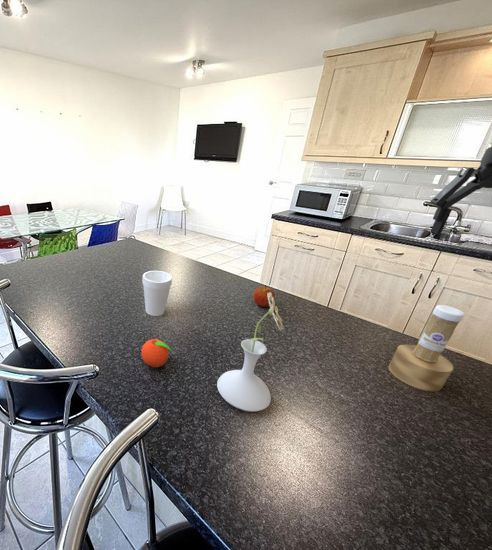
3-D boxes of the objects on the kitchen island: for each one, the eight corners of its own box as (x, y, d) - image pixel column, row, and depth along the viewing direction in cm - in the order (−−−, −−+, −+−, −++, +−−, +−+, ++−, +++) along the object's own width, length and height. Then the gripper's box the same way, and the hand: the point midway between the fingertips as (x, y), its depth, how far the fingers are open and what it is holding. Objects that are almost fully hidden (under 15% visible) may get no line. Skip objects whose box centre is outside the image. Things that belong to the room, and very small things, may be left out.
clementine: (174, 359, 78) (176, 337, 75) (168, 377, 72) (170, 354, 69) (145, 352, 80) (146, 330, 77) (137, 369, 74) (138, 346, 71)
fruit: (276, 307, 103) (282, 287, 100) (263, 312, 101) (268, 291, 97) (260, 299, 109) (264, 279, 106) (247, 303, 106) (251, 283, 103)
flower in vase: (259, 426, 60) (289, 322, 49) (207, 397, 66) (224, 299, 56) (277, 389, 69) (306, 295, 58) (230, 367, 75) (249, 279, 65)
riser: (425, 366, 77) (435, 348, 74) (452, 395, 68) (465, 375, 66) (380, 359, 79) (389, 341, 77) (401, 386, 70) (412, 366, 68)
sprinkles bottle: (415, 359, 70) (440, 311, 65) (409, 349, 74) (433, 302, 68) (440, 366, 68) (469, 316, 63) (433, 354, 72) (459, 307, 66)
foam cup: (174, 315, 98) (177, 279, 93) (149, 321, 94) (152, 284, 89) (159, 302, 106) (161, 268, 100) (136, 307, 102) (137, 273, 97)
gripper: (565, 147, 68) (514, 235, 77) (435, 145, 74) (402, 227, 83) (603, 147, 62) (542, 244, 70) (457, 145, 67) (418, 234, 76)
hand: (466, 235), depth 77 cm, fingers open, 13 cm apart
